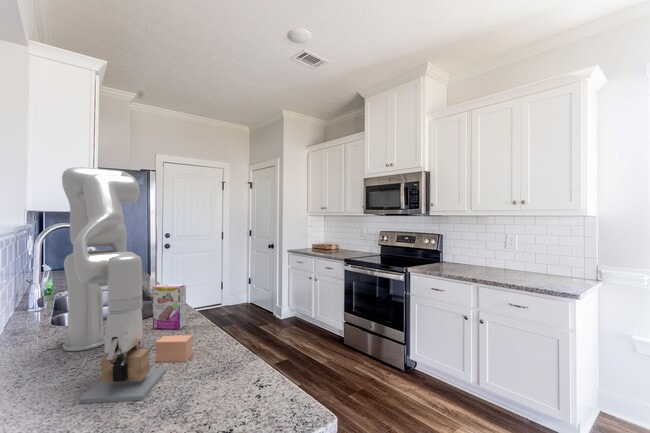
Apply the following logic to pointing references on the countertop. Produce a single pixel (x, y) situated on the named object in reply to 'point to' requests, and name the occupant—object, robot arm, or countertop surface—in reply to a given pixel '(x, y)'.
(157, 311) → the candy bar box
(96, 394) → the baseplate
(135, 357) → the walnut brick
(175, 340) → the terracotta brick
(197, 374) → the countertop surface
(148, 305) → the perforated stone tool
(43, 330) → the countertop surface
